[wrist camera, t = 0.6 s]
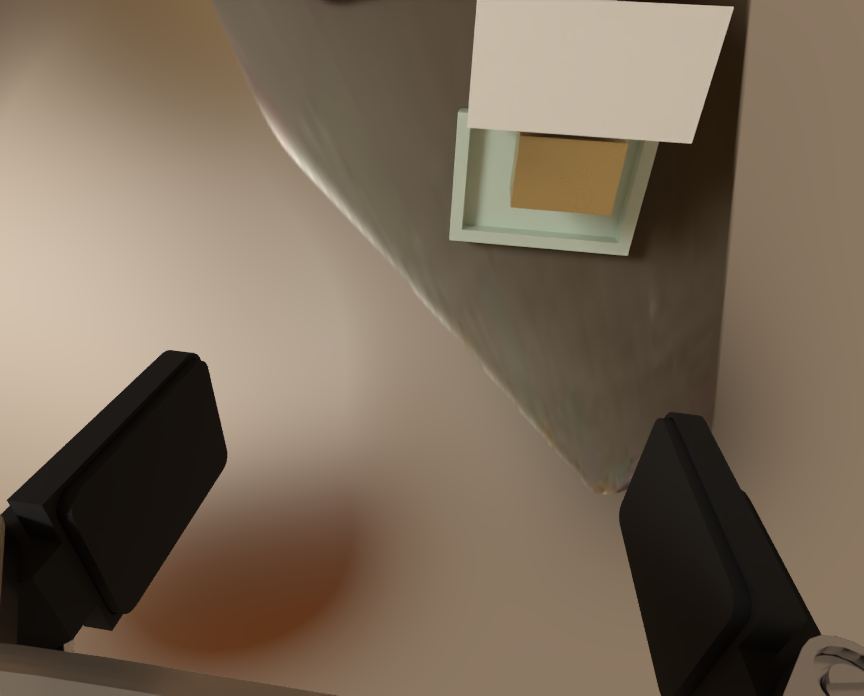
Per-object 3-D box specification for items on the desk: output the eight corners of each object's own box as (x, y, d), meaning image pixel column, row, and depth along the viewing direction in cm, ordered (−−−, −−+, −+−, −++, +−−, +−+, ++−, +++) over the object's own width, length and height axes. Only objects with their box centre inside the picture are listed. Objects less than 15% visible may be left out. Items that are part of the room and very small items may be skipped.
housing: (485, 7, 28) (477, -6, 20) (663, 16, 28) (734, 6, 19) (476, 103, 31) (466, 127, 23) (639, 114, 30) (691, 143, 22)
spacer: (518, 123, 27) (520, 135, 23) (611, 129, 26) (628, 143, 23) (509, 186, 29) (510, 207, 25) (597, 194, 28) (610, 215, 25)
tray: (460, 108, 31) (458, 112, 30) (654, 121, 30) (663, 126, 29) (451, 230, 36) (449, 239, 34) (621, 245, 35) (627, 255, 33)
